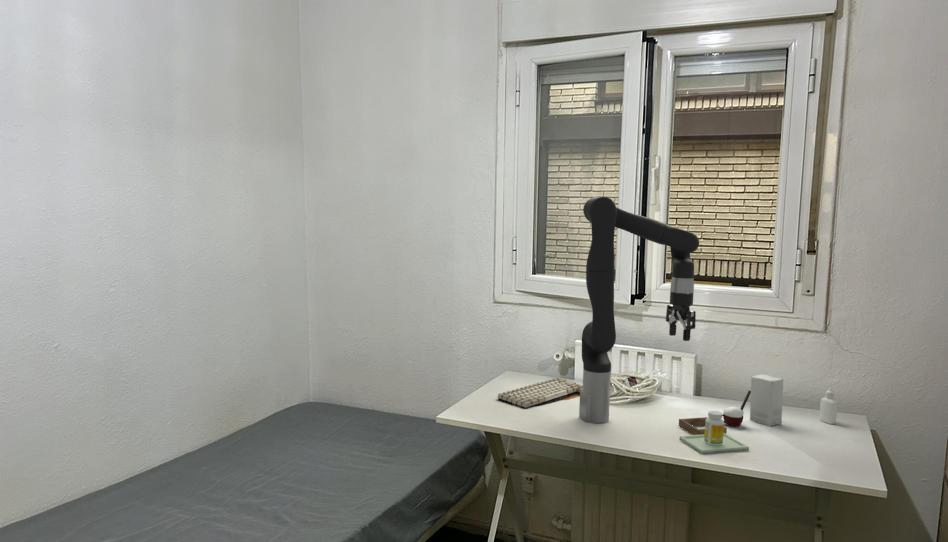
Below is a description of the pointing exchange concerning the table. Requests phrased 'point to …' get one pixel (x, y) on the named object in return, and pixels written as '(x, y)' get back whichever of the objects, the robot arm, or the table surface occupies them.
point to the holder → (689, 422)
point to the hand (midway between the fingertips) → (679, 338)
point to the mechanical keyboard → (541, 393)
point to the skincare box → (766, 399)
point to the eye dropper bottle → (828, 408)
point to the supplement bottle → (714, 428)
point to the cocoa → (735, 413)
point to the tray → (703, 448)
